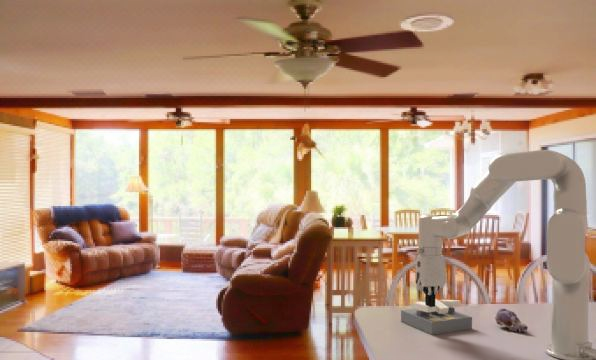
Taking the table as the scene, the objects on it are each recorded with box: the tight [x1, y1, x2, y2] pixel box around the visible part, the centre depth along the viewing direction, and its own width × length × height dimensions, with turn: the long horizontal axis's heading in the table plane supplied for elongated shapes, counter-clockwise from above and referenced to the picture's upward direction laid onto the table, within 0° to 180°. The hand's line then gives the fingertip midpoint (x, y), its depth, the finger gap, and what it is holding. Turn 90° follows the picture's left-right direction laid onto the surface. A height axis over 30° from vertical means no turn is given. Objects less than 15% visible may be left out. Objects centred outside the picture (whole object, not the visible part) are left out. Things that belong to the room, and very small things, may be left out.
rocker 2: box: [422, 296, 449, 314], centre depth 181 cm, size 9×4×2 cm, turn 24°
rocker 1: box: [410, 300, 436, 312], centre depth 179 cm, size 9×4×2 cm, turn 24°
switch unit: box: [400, 307, 473, 336], centre depth 181 cm, size 17×17×5 cm
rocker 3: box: [437, 298, 462, 308], centre depth 184 cm, size 9×4×2 cm, turn 24°
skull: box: [495, 308, 529, 334], centre depth 177 cm, size 12×8×6 cm, turn 14°
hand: (430, 305), depth 175 cm, fingers closed
